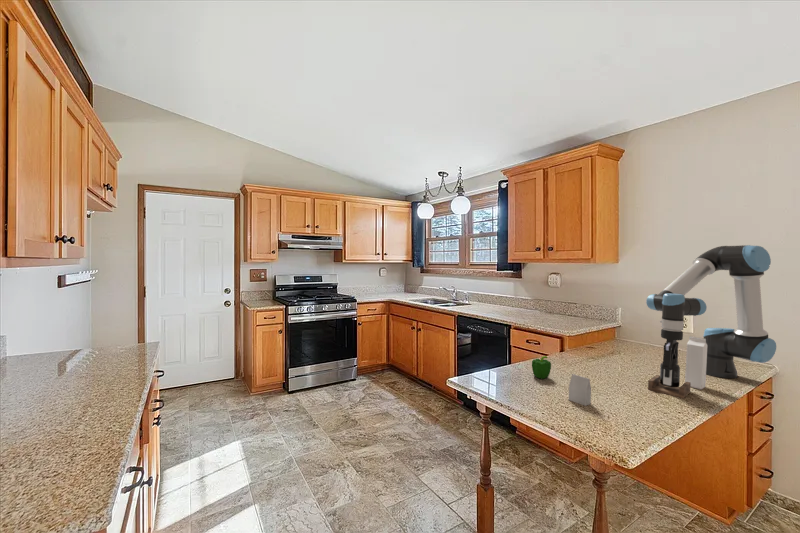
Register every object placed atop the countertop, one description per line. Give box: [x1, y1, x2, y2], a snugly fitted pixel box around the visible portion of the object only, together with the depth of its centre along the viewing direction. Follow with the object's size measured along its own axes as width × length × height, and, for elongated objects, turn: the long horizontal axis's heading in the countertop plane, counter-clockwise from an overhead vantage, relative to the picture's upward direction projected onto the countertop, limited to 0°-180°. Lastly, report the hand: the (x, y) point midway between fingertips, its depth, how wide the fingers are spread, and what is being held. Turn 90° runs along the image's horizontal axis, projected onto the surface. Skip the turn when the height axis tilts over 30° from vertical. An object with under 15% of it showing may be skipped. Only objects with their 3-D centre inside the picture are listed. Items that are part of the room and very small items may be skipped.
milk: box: [684, 336, 707, 390], centre depth 164 cm, size 6×6×22 cm
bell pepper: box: [531, 355, 552, 379], centre depth 170 cm, size 8×8×10 cm
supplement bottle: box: [659, 357, 681, 387], centre depth 157 cm, size 7×7×12 cm
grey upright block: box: [568, 373, 592, 407], centre depth 142 cm, size 4×7×10 cm, turn 35°
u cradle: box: [647, 374, 691, 399], centre depth 158 cm, size 12×12×4 cm
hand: (669, 382), depth 158 cm, fingers closed on supplement bottle, 7 cm apart
